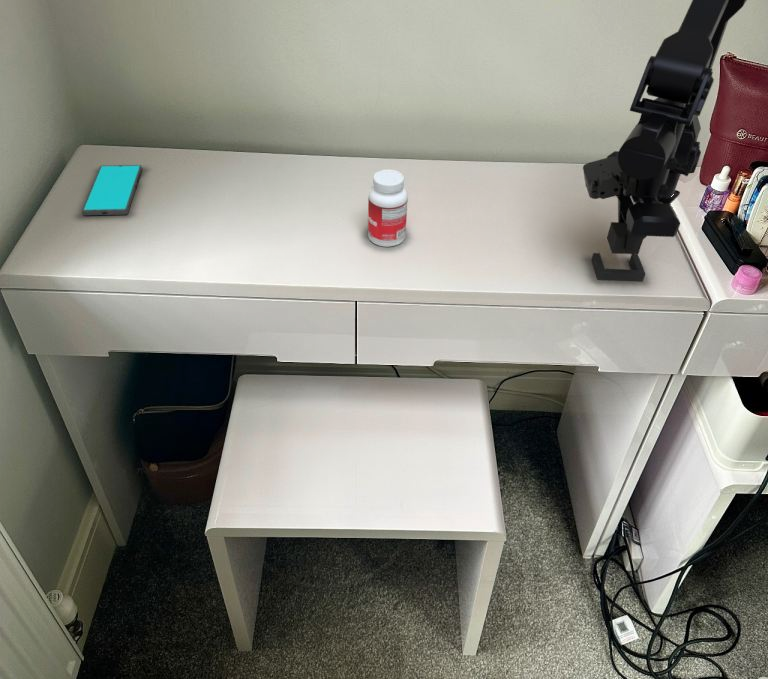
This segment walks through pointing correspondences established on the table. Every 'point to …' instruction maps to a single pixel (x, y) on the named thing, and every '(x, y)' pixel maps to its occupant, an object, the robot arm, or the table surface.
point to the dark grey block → (619, 239)
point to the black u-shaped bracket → (618, 270)
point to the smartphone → (112, 190)
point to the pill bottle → (387, 208)
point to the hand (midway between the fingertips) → (624, 240)
